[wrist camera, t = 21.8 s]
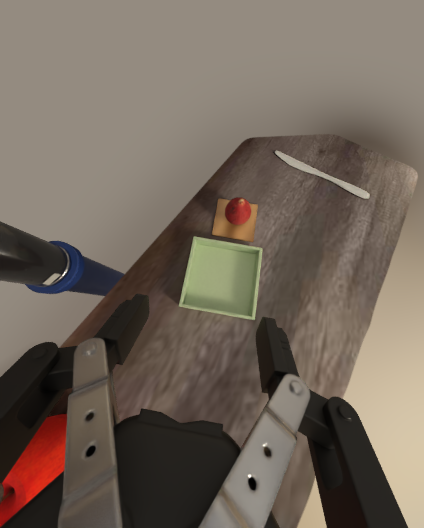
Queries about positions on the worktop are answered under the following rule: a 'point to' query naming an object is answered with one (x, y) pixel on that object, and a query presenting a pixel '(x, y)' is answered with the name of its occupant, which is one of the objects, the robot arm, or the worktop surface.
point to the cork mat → (230, 230)
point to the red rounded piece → (238, 211)
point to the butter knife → (322, 175)
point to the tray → (222, 278)
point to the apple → (35, 466)
